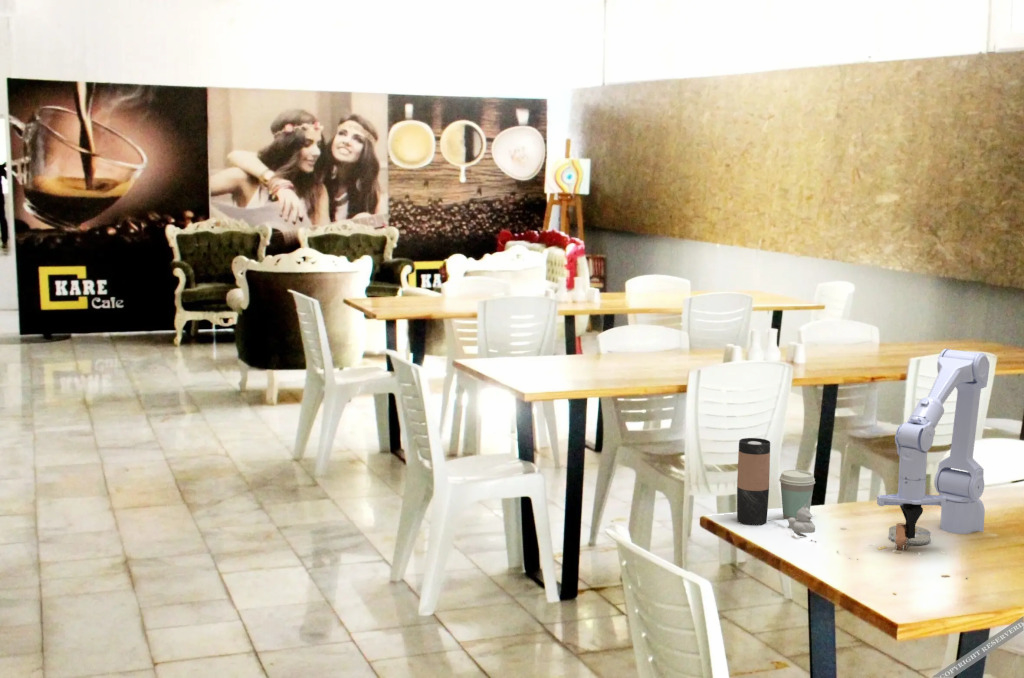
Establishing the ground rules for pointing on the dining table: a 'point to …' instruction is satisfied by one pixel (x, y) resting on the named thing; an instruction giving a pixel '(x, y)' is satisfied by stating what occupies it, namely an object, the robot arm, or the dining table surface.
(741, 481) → the travel mug
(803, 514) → the grey animal figurine
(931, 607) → the dining table surface
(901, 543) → the dial
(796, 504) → the coffee cup
